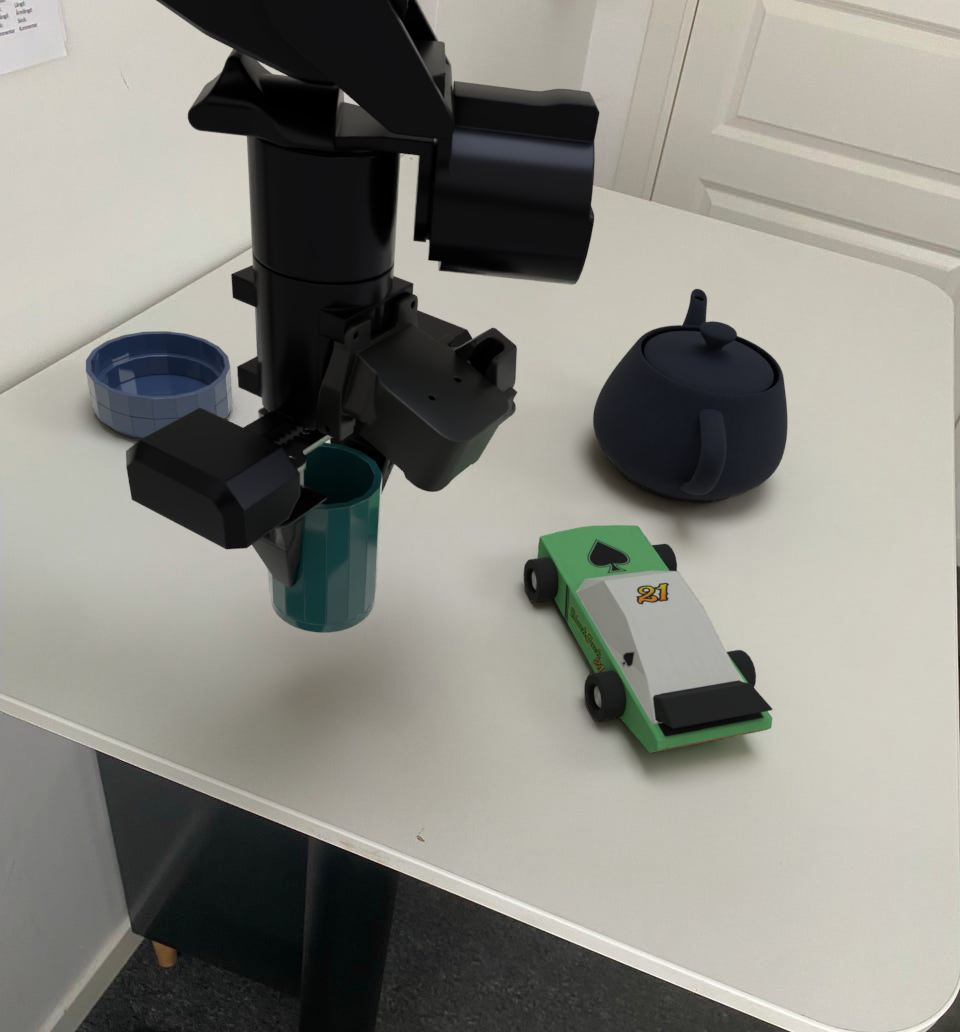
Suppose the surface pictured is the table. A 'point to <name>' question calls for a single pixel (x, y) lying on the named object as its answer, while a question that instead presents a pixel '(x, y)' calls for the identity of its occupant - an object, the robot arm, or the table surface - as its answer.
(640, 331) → the table surface
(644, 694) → the toy car
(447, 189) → the robot arm
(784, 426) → the teapot
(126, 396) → the bowl
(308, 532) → the cup
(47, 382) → the table surface
